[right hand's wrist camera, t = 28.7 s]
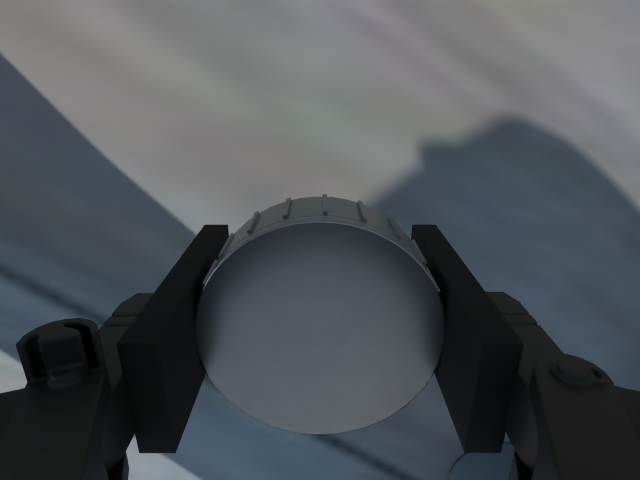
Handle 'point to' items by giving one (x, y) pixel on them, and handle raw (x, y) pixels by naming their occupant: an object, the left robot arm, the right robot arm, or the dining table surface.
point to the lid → (320, 317)
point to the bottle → (484, 465)
